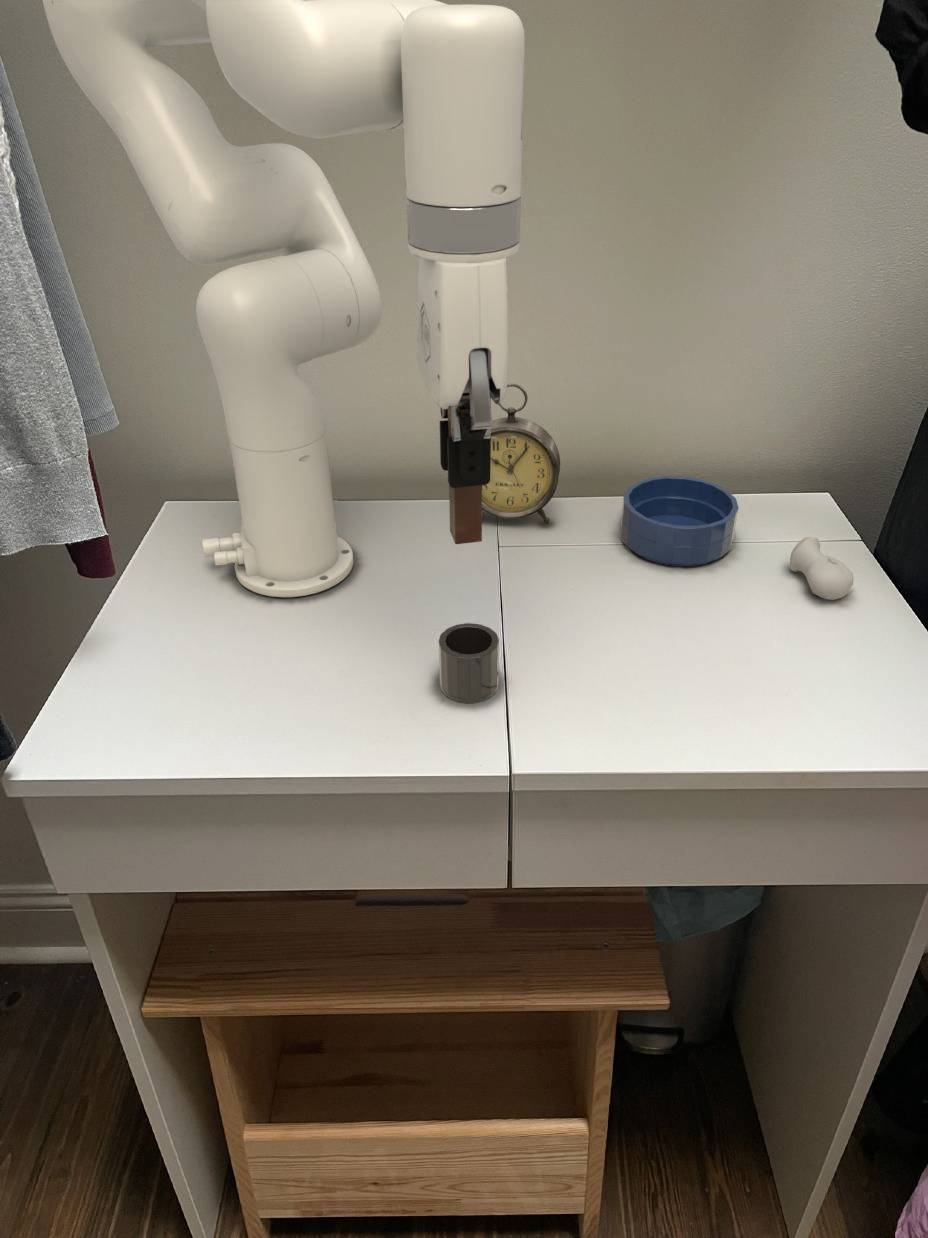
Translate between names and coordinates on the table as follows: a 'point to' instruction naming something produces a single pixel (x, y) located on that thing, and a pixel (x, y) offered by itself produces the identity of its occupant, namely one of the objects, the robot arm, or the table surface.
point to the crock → (469, 662)
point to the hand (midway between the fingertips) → (465, 474)
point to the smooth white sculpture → (821, 570)
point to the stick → (465, 507)
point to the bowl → (678, 520)
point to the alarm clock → (520, 467)
